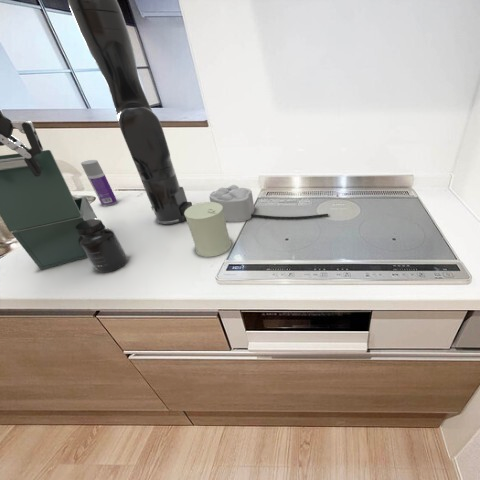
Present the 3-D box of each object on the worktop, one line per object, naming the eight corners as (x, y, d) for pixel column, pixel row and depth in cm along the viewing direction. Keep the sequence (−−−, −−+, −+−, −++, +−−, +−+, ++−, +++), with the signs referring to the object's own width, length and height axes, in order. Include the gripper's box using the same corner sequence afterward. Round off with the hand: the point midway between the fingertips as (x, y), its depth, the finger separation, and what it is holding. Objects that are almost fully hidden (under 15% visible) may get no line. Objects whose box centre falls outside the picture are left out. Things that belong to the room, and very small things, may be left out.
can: (216, 260, 67) (205, 219, 61) (188, 252, 70) (174, 213, 63) (237, 241, 75) (229, 203, 68) (211, 235, 77) (201, 197, 70)
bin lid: (-30, 159, 53) (-47, 157, 49) (50, 150, 59) (42, 147, 55) (11, 231, 58) (-1, 234, 54) (82, 215, 64) (76, 217, 60)
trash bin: (49, 242, 74) (25, 208, 68) (103, 228, 80) (85, 196, 74) (40, 270, 64) (11, 233, 58) (103, 252, 70) (82, 217, 64)
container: (120, 200, 96) (101, 159, 88) (110, 206, 92) (89, 164, 84) (108, 200, 96) (88, 159, 88) (98, 205, 93) (76, 164, 84)
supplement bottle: (108, 255, 69) (85, 215, 62) (134, 256, 69) (113, 216, 62) (88, 273, 63) (61, 231, 56) (116, 273, 63) (92, 231, 56)
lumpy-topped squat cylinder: (249, 221, 84) (244, 196, 79) (208, 221, 84) (202, 196, 79) (256, 206, 92) (252, 183, 87) (219, 206, 92) (214, 183, 88)
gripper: (-129, 88, 39) (-41, 192, 49) (5, 85, 46) (59, 177, 55) (-102, 84, 44) (-27, 179, 54) (15, 81, 51) (63, 166, 60)
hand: (16, 177), depth 54 cm, fingers closed on bin lid, 6 cm apart
